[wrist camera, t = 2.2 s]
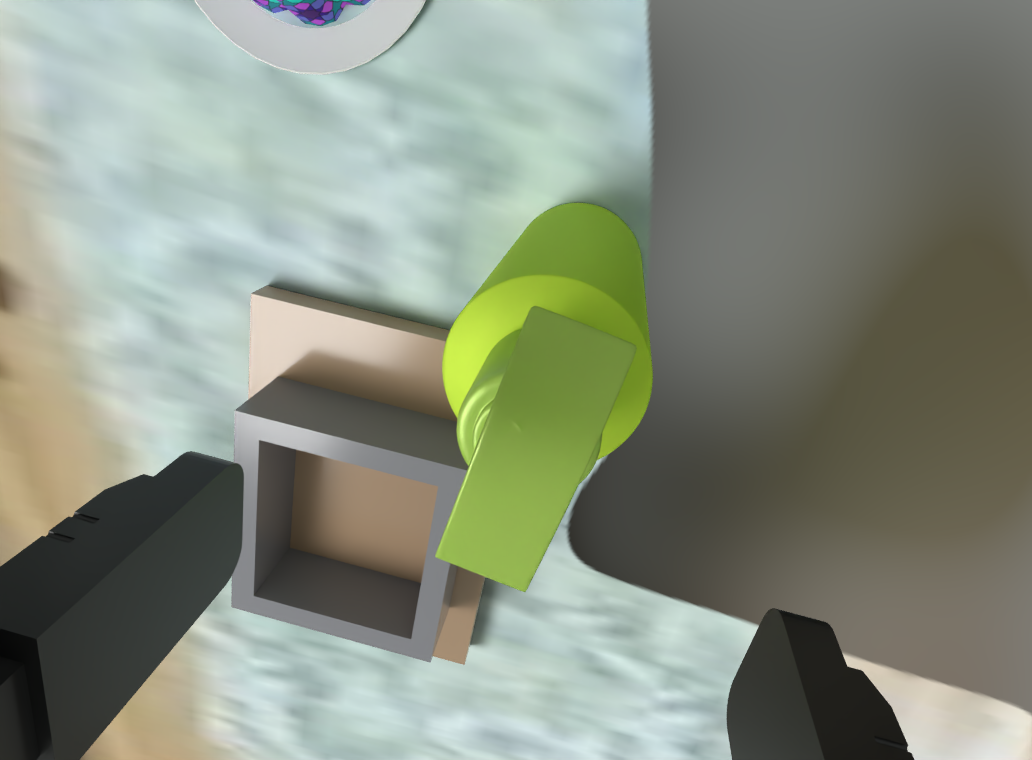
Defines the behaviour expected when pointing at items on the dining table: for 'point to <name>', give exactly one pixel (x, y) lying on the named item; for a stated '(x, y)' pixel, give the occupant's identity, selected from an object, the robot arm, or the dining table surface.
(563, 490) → the soap dispenser
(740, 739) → the robot arm
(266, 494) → the soap caddy
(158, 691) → the dining table surface
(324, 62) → the pudding
